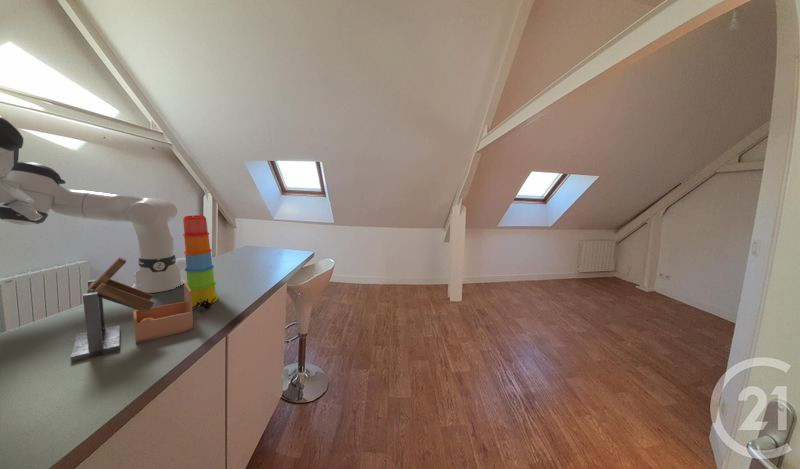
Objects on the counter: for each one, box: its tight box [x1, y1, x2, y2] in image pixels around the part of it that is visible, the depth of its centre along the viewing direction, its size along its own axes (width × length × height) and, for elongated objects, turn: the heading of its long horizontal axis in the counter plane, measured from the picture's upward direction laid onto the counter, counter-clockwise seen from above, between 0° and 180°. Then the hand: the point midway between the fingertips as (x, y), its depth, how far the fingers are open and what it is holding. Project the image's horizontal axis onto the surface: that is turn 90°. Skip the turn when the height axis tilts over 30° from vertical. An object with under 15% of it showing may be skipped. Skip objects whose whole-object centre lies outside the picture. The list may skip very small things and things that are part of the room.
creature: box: [192, 297, 216, 313], centre depth 100 cm, size 8×5×8 cm
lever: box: [86, 256, 155, 313], centre depth 78 cm, size 10×14×11 cm
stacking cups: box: [182, 214, 219, 307], centre depth 104 cm, size 10×10×35 cm
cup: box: [132, 281, 194, 344], centre depth 84 cm, size 11×13×13 cm
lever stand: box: [70, 279, 121, 364], centre depth 74 cm, size 15×8×17 cm, turn 46°
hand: (38, 219), depth 66 cm, fingers closed
